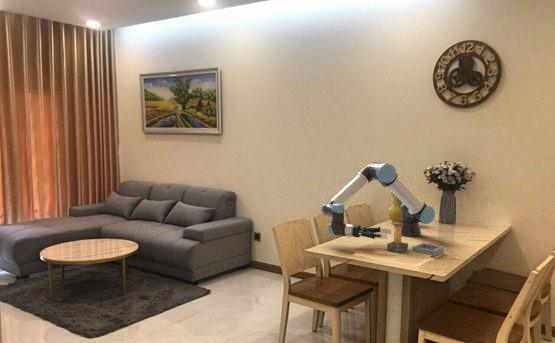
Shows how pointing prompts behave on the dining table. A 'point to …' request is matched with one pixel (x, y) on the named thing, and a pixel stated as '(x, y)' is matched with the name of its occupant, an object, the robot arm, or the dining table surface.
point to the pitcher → (395, 209)
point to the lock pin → (397, 232)
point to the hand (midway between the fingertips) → (389, 233)
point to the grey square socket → (397, 248)
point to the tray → (429, 249)
